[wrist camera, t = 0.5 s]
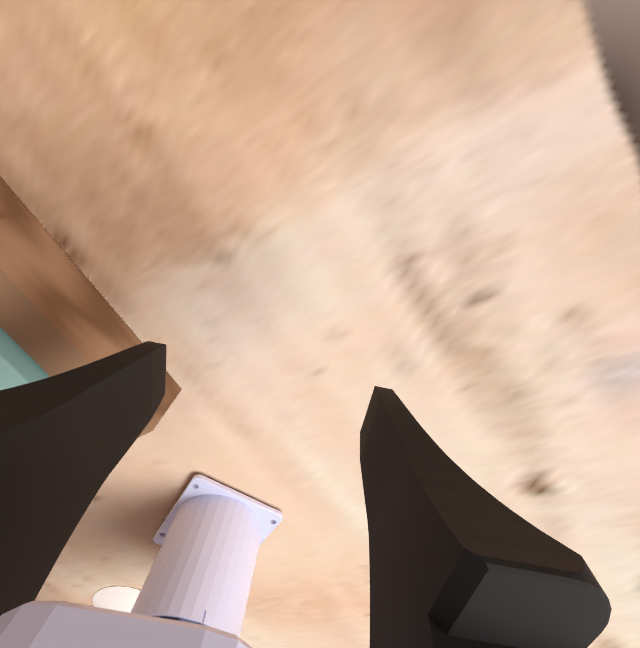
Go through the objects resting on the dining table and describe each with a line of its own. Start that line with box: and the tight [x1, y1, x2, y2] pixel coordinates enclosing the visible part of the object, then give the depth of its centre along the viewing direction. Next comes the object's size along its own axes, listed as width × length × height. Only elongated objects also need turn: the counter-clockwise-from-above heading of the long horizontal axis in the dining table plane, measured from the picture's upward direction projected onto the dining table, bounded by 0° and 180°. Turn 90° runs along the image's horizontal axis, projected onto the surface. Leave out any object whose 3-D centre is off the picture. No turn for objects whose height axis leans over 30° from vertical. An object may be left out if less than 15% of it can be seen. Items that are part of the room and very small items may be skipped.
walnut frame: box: [0, 177, 181, 437], centre depth 21 cm, size 16×10×4 cm, turn 30°
